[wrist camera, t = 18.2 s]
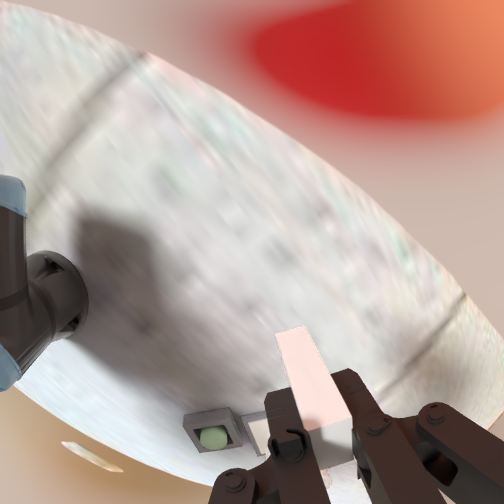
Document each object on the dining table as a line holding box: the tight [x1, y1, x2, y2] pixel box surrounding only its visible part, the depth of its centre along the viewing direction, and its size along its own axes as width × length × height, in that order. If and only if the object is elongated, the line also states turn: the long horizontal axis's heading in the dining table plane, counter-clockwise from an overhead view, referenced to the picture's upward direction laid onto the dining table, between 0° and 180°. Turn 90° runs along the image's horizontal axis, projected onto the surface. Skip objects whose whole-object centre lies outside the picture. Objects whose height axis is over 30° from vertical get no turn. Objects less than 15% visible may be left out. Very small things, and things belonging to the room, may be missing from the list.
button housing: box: [183, 408, 243, 453], centre depth 49 cm, size 9×9×3 cm
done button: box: [200, 425, 227, 450], centre depth 48 cm, size 5×5×3 cm
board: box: [241, 411, 269, 456], centre depth 52 cm, size 16×13×2 cm
